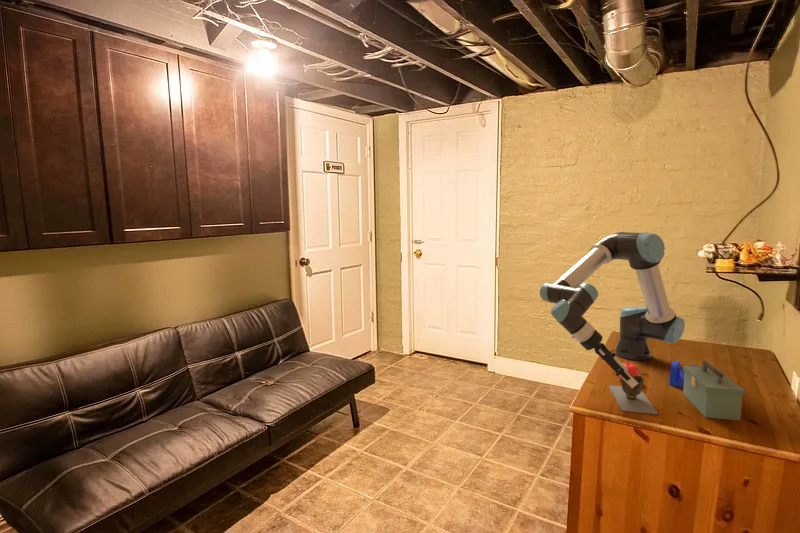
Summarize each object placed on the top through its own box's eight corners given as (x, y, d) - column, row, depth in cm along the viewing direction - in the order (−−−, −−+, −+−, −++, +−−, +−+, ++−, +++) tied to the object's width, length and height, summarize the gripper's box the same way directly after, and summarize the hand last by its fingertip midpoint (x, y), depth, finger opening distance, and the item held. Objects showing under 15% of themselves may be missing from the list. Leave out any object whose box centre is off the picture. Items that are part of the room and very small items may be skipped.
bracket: (694, 391, 167) (695, 368, 166) (669, 385, 173) (670, 363, 172) (703, 378, 180) (705, 356, 179) (680, 373, 186) (681, 352, 185)
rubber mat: (608, 386, 173) (608, 385, 172) (639, 389, 170) (639, 387, 170) (621, 411, 151) (622, 409, 151) (657, 414, 149) (657, 413, 149)
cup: (645, 397, 161) (646, 376, 160) (639, 404, 155) (641, 382, 154) (623, 392, 166) (624, 371, 165) (617, 398, 160) (618, 377, 159)
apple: (629, 386, 173) (630, 366, 172) (612, 379, 180) (612, 360, 179) (643, 382, 176) (644, 363, 175) (625, 376, 183) (626, 357, 182)
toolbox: (680, 392, 166) (683, 356, 164) (714, 395, 163) (717, 358, 161) (703, 417, 146) (706, 376, 144) (742, 421, 143) (745, 378, 141)
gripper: (574, 333, 174) (614, 372, 172) (584, 353, 150) (630, 398, 148) (589, 320, 172) (629, 360, 170) (601, 338, 148) (648, 385, 146)
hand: (630, 378), depth 159 cm, fingers open, 13 cm apart
